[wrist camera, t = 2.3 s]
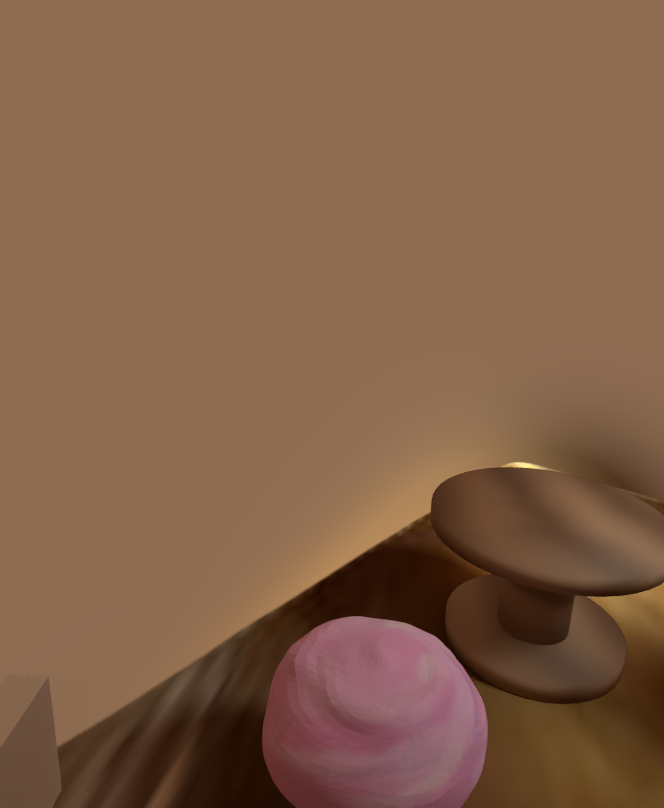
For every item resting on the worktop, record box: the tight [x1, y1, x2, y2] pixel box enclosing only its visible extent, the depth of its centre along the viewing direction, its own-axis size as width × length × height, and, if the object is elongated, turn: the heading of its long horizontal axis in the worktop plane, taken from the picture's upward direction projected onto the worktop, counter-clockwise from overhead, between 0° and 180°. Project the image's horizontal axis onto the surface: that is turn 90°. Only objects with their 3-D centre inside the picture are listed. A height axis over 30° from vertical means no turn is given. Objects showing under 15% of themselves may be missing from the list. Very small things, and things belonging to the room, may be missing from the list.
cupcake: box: [262, 616, 488, 808], centre depth 24 cm, size 9×9×10 cm
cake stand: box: [431, 467, 664, 703], centre depth 37 cm, size 14×14×9 cm
